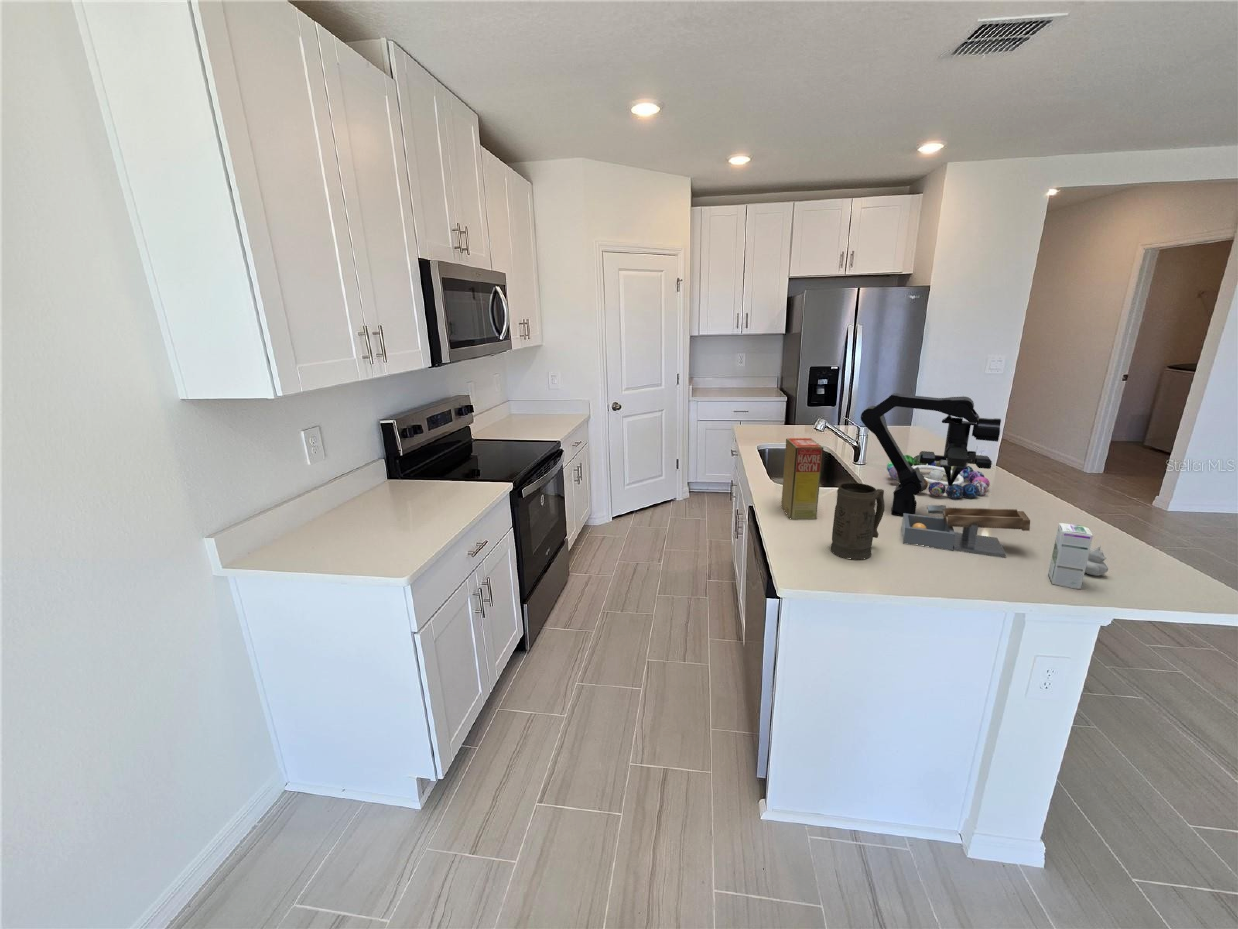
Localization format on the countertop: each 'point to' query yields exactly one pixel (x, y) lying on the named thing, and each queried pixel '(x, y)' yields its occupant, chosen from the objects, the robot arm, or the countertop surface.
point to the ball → (919, 525)
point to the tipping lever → (982, 517)
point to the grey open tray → (927, 531)
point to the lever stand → (977, 543)
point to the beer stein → (856, 520)
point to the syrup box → (1070, 555)
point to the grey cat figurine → (1096, 563)
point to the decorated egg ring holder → (938, 488)
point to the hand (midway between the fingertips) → (949, 485)
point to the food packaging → (801, 478)
